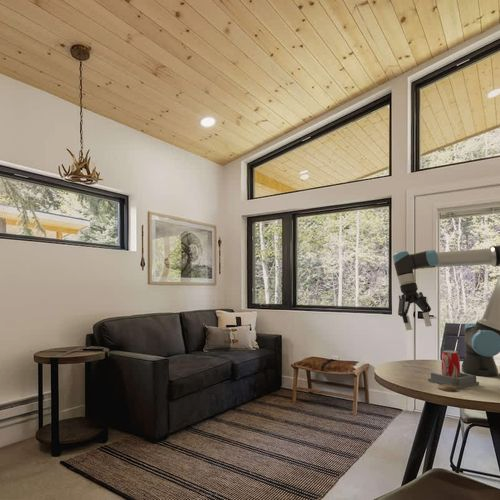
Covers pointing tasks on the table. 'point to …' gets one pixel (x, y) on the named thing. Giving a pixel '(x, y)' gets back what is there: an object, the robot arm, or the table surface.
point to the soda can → (450, 363)
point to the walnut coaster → (447, 387)
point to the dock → (455, 380)
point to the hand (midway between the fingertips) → (419, 328)
